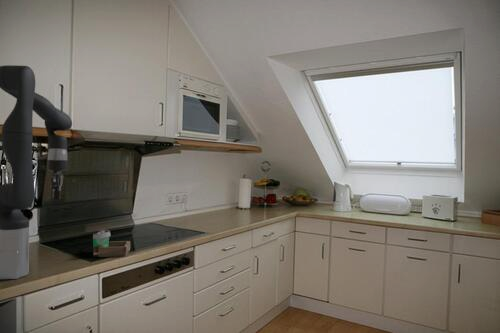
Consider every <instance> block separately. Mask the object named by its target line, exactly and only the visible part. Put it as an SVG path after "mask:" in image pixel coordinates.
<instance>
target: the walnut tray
mask: <svg viewBox="0 0 500 333" xmlns="http://www.w3.org/2000/svg"><path fill="white" fill-rule="evenodd" d="M130 250H131V240H120V241H119V240H118V241H115V240H114V241H109V244H108V247H99V248H98V256H97V257H98V258H106V257H107V258H110V257H112V258H113V257H127V255H128V254H129V252H130Z"/></svg>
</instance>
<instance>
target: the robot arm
mask: <svg viewBox="0 0 500 333" xmlns="http://www.w3.org/2000/svg"><path fill="white" fill-rule="evenodd" d="M0 89H1V90H2V91H4V92H6V93H7V94H8V95H10V96H12V97H13V98H15V99H16V102H15V104H14V108H13V109H12V110H11V112H10V113H9V115H8V117H7V118H6V120H5V121H4V123H3V124H2V127H1V148H2V151H3V153H4V156H5V157H6V159H7V160H8V163H9V165H10V168H11V171H12V182H9V183H8V182H7V183H3V184H1V185H0V280H15V279H16V280H17V279H19V278H22V277H25V276H28V274H29V273H30V272H29V270H30V268H29V266H30V265H29V264H30V257H29V256H30V255H29V254H30V220H29V217H26V216H25V215H24V214H23V212H22V210H26V209H28V208H30V207H31V206H32V205H33V202H34V201H35V196H36V189H35V180H34V172H33V142H34V140H33V139H34V138H33V136H34V135H33V132H34V131H33V114H34V113H35V114H36V115H37V116H39V118H41V119H42V120H43V121H44V126H45V130H46V133H47V137H48V150H47V151H48V152H47V170H48V171H51V172H52V174H51V175H50V176H51V177H50V180H51V187H52V188H51V189H52V191H53V199H54V200H60V199H61V190H62V189H63V184H64V183H63V181H64V175H63V173H62V171H64V172H65V171H68V140H67V137H66V136H63V135H59V134H58V135H56V134H55V133H54V131H56V132H61V131H69V130H70V129H71V128H72V127H73V121H72V118H71V117H70V116H69V114H67V113H66V112H64V111H63V110H60V109H59V108H57V107H55V105H54V104H53V103H52V102H51V101H50V100H49V99H47V98H46V97H45V96H43V95H41V94H39V93H37V92H36V75H35V73H34V70H33V69H32V68H31V67H30V66H28V65H14V64H13V65H11V64H9V65H0ZM33 112H34V113H33Z"/></svg>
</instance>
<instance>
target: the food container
mask: <svg viewBox="0 0 500 333" xmlns="http://www.w3.org/2000/svg"><path fill="white" fill-rule="evenodd" d="M110 237H111V231H110V230H109V229H98V231H97V232H96V233H93V234H92V242H93V244H92V245H93V247H92V248H93V251H92V252H93V254H92V255H93V257H98V248H99V247H108V244H109V242H110V241H109V240H110Z"/></svg>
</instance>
